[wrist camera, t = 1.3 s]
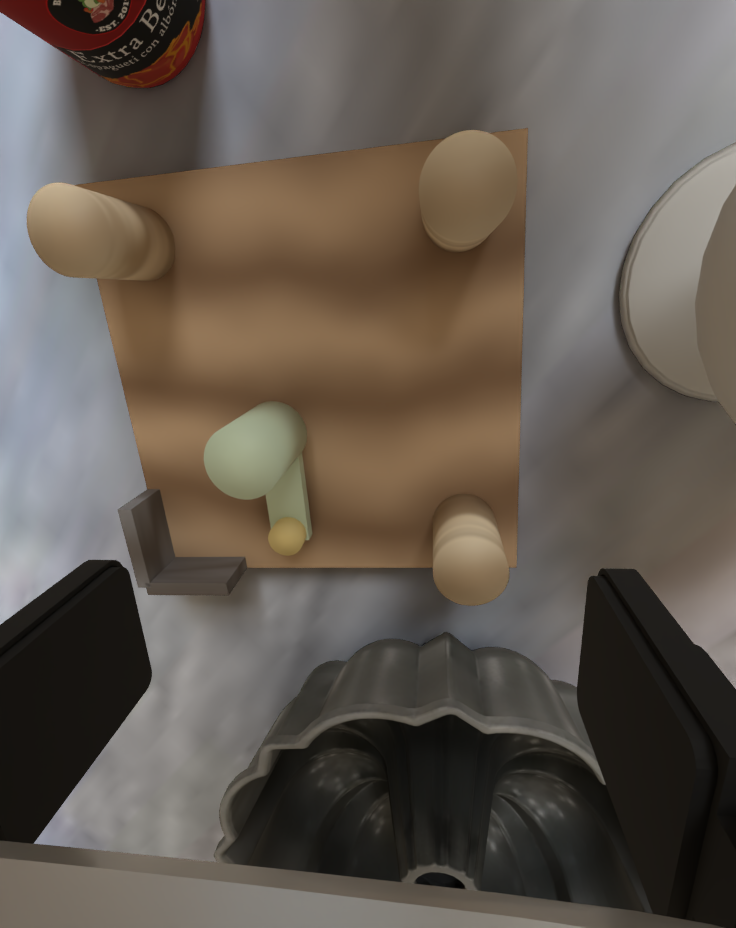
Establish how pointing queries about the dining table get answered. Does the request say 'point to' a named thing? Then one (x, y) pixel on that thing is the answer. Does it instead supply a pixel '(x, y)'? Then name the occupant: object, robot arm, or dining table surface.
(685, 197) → the chalice
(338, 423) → the stool board
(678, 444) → the dining table surface
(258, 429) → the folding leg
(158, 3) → the canned food
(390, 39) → the dining table surface
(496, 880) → the bundt pan
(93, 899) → the robot arm
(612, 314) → the dining table surface
